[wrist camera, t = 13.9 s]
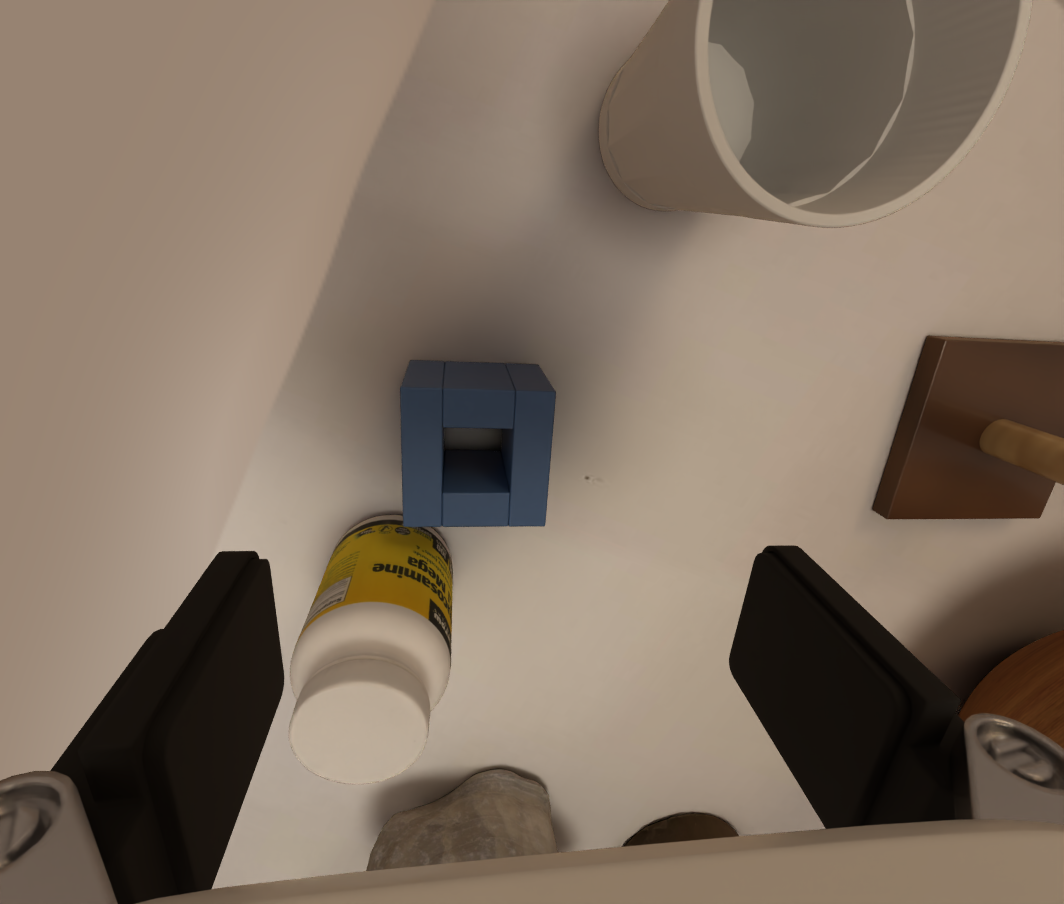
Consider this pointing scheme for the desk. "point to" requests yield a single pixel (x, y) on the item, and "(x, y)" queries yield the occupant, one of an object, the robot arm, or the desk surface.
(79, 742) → the robot arm
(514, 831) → the decorative stone
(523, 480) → the collar block
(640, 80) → the cup
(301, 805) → the desk surface
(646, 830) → the pillar candle
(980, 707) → the bowl
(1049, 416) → the dowel stand
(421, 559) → the pill bottle
